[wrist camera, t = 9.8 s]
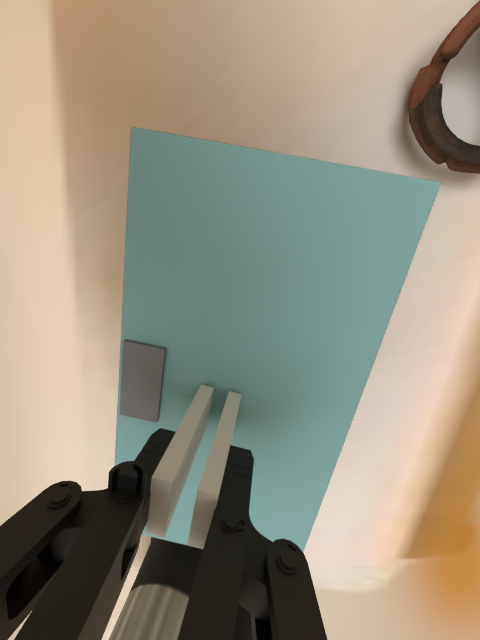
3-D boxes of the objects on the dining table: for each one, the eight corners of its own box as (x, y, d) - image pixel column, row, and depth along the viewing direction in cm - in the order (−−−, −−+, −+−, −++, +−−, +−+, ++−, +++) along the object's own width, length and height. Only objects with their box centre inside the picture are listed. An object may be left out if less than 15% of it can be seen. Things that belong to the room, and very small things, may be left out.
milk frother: (173, 577, 35) (100, 807, 21) (109, 484, 32) (-29, 679, 18) (275, 559, 31) (269, 823, 17) (213, 453, 28) (144, 666, 14)
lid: (142, 136, 13) (127, 123, 12) (425, 187, 13) (445, 180, 11) (119, 511, 21) (109, 531, 20) (294, 552, 21) (296, 575, 19)
